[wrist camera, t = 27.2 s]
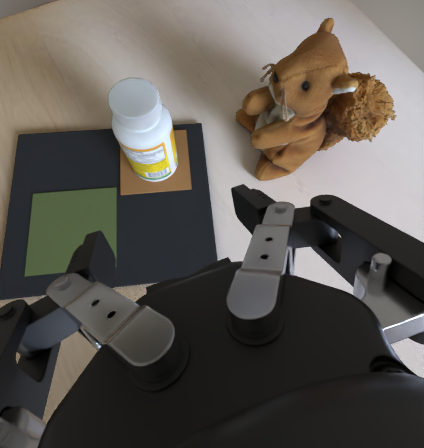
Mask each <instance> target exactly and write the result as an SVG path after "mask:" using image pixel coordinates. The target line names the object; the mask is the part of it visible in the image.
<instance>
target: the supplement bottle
mask: <svg viewBox="0 0 424 448" xmlns="http://www.w3.org/2000/svg"><path fill="white" fill-rule="evenodd" d="M108 103H109V106H110V109H111V111H112V113H113V116H112V129H113V132H114V135H115V137H116V138H117V140H118V142H119V144H120V146H121V148H122V150H123V151H124V153H125V155H126V157H127V159H128V161H129V162H130V164H131V166H132V168H133V170H134V172H135V173H136V174H137V175H138V176H139V177H140V178H142V179H144V180H146V181H151V182H158V181H162V180H165V179H167V178H168V177H170V176H171V175H172V174H173V173H174V171H175V170H176V168H177V164H178V157H177V150H176V144H175V138H174V132H173V125H172V119H171V116H170V113H169V111H168V110H167V108H166V107H165V106H164V105H163V104H162V103H161V101H160V97H159V93H158V90H157V89H156V87H155V86H154V85H153V84H152V83H151V82H149V81H147V80H145V79H141V78H127V79H124V80H121V81H119V82H118V83H116V84H115V85H114V86H113V87H112V88H111V90H110V92H109V95H108Z"/></svg>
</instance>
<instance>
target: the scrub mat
mask: <svg viewBox="0 0 424 448" xmlns="http://www.w3.org/2000/svg"><path fill="white" fill-rule="evenodd" d="M173 132H174V138H175V144H176V150H177V157H178V164H177V168H176V170H175V171H174V173H173V174H172V175H171V176H170V177H168V178H167V179H165V180H162V181H158V182H151V181H146V180H144V179H142V178H140V177H139V176H138V175H137V174H136V173H135V172H134V170H133V168H132V166H131V164H130V162H129V161H128V159H127V157H126V155H125V153H124V151H123V150H122V148H121V146H120V144H119V142H118V140H117V138H116V137H115V135H114V132H113V129H101V130H84V131H68V132H52V133H36V134H20V135H18V142H17V150H16V157H15V165H14V172H13V180H12V187H11V195H10V202H9V209H8V217H7V224H6V232H5V239H4V247H3V254H2V262H1V269H0V300H5V299H14V298H23V297H32V296H41V295H47V294H46V290H47V288H48V287H49V285H50V284H51V283H52V282H53V281H55V280H56V279H58V278H59V277H61V276H63V275H65V272H66V270H67V267H68V265H69V263H70V260H71V259H72V255H73V253H74V251H75V250H76V249H77V248H78V247H79V246H80V245H82V244H83V242H84V239H85V236H86V234H89V233H92V232H95V231H99V230H101V231H102V232H103V234H104V236H105V237H106V239H107V241H108V243H109V245H110V247H111V248H112V250H113V252H114V255H115V259H116V264H115V272H114V281H113V287H122V286H131V285H140V284H149V283H158V282H162V281H165V280H168V279H173V278H179V277H184V276H189V275H191V274H193V273H195V272H196V271H198V270H200V269H202V268H203V267H205V266H207V265H208V264H211V263H214V262H216V261H217V253H216V244H215V236H214V227H213V218H212V210H211V201H210V193H209V184H208V176H207V167H206V158H205V150H204V141H203V133H202V124H201V123H197V124H181V125H173Z"/></svg>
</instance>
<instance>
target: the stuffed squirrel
mask: <svg viewBox="0 0 424 448" xmlns="http://www.w3.org/2000/svg"><path fill="white" fill-rule="evenodd" d="M333 26H334V20H333V19H332V18H327V19H325V20H324V21H323V22H322V24H321V25H320V27H319V30H318V31H317V33H315V34H313V35H311V36H309V37H308V38H306V39H305V40H304V41H303V42H302V43H301V44H300V45H299V46H298V47H297V49H296V50H295V51H294V52H293V53H292V54H290V55H289V56H287V57H285V58H283V59H282V60H280V61H279V62H278V63H277V64H276V65H274V64H268V65H266V66H265V67H263V68H262V69H263V70H265V69H266V68H267V67H268V66H271V69H269V71H267V73H266V74H265V75H264V76H263V77H262V78H261V79H260V81H261V82H263V80H264V78H265V77H266V76H267V75H268V74H270V73H271V72H272V74H271V76H270V78H269V81H270V83H269V86H266V87H262V88H260V89H257V90H254V91H251V92H250V93H249V94H248V95H247V96H246V97H245V99H244V101H243V105H242V108H243V109H240V110H238V111H237V112H236V120H237V121H238V122H239V123H240V124H241V125H242V126H244V127H245V128H247V129H248V130H249V131H251V132H252V135H251V144H252V147H254V148H256V149H260V150H261V151H262V152H263V153H262V156H261V157H260V160H259V162H258V165H257V168H256V174H255V177H256V178H257V179H258V180H259V181H265V180H271V179H275V178H279V177H282V176H285V175H288V174H290V173H292V172H294V171H295V170H296V169H297V168H298V167H299V166H301V165H302V164H303V163H304V162H305V161H306V160H307V159H309V158H310V157H311V156H312V155H313V154H314V153H315V152H316V151H320V150H327V149H328V148H329V147H332V146H333V145H335V144H336V143H338V142H339V141H341V140H342V139H343V138H344V137H347V138H348V139H349V140H351V141H356V142H359V141H361V140H363V139H364V140H367V139H369V141H370V142H372V137H375V136H376V135H377V134H378V133H379V131H380V129H381V128H383V126H385V124H387V123H386V122H387V121H388V118H391V119H392V120H394V119H395V118H396V117H397V116H396V115H395V116H394V113H395V111H394V110H392V109H393V106H394V105H393V102H394V101H393V99H392V97H391V96H390V95H389V94H388V91H386V87H385V84H383V83H381V82H380V80H376V79H375V76H376V75H374V76H372V77H370V74H369V73H368V74H367V75H366V74H362V73H360V72H358V73H352V74H349V73H348V69H349V68H348V65H347V60H346V58H345V55H344V52H343V50H342V48H341V45H340V43H339V40H338V38H337V37H336V36H335V35H334V34H331V31H332V29H333Z"/></svg>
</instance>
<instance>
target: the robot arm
mask: <svg viewBox="0 0 424 448" xmlns="http://www.w3.org/2000/svg"><path fill="white" fill-rule="evenodd" d="M231 191H232V197H233V203H234V208H235V213H236V215H237V218H238V219H239V220H240V221H241V223H242V224H243V225H244V226H245V227H246V228H247V229H248V231H249V232H250V233H251V234H252V235H253V236H252V238H251V241H250V244H249V247H248V250H247V252H246V255H245V258H244V261H239V262H231V261H230V259H229V258H228V257H227V258H225V259H222V260H219V261H216V262H214V263H211V264H208V265H207V266H205V267H203V268H202V269H200V270H198V271H196V272H195V273H193V274H191V275H189V276H184V277H179V278H173V279H168V280H165V281H162V282H159V283H157V284H154V285H151V286H148V287H146V290H147V294H146V295H144V296H142V297H141V298H140V299H138V300H137V301H136V302H133V301H131V300H130V299H128V298H126V297H125V296H123V295H121V294H120V293H118V292H116V291H115V290H113V281H114V272H115V264H116V259H115V255H114V252H113V250H112V248H111V247H110V245H109V243H108V241H107V239H106V237H105V236H104V234H103V232H102V231H101V230H99V231H95V232H92V233H89V234H86V236H85V239H84V242H83V244H82V245H80V246H79V247H78V248H77V249H76V250H75V251H74V253H73V255H72V259H71V260H70V263H69V265H68V267H67V270H66V272H65V275H63V276H61V277H59V278H58V279H56V280H55V281H53V282H52V283H51V284H50V285H49V287H48V288H47V290H46V294H47V296H46V297H44V298H42V299H40V300H38V301H37V302H35V303H33V304H31V305H28V304H27V303H26V302H25V301H24V300H15V301H12V302H10V303H8V304H6V305H4V306H3V307H1V308H0V448H424V378H422V377H419V376H417V375H416V374H415V373H413V372H412V371H411V370H409V369H408V368H407V367H406V366H405V365H404V364H403V362H402V361H401V360H400V359H399V357H398V356H397V354H396V353H395V352H394V350H393V349H392V347H391V345H390V344H392V343H395V342H398V341H400V340H403V339H405V338H410V339H411V340H413V341H415V342H417V343H420V344H423V345H424V243H423V242H421V241H419V240H417V239H416V238H414V237H412V236H410V235H408V234H406V233H404V232H402V231H400V230H399V229H397V228H395V227H393V226H391V225H389V224H387V223H385V222H384V221H382V220H380V219H378V218H376V217H374V216H372V215H370V214H369V213H367V212H365V211H363V210H361V209H359V208H357V207H355V206H353V205H352V204H350V203H348V202H346V201H344V200H342V199H340V198H338V197H336V196H333V195H319V196H316V197H314V198H312V199H311V201H310V207H303V208H295V207H294V205H293V204H291V203H289V202H276V201H274V200H273V199H271V198H270V197H268V196H267V195H266V194H264V193H263V192H262V191H260V190H256V189H251V190H250V189H249V188H248V187H246V186H245V185H244V184H242V185H239V186H236V187H233V188H232V189H231ZM338 234H340V236H341V238H340V237H339V236H338ZM310 246H311V248H312V249H313V250H314V251H315V252H316V253H317V254H319V255H320V256H321V257H322V258H323V259H324V260H325V261H326V262H327V263H328V264H329V265H330V266H331V267H332V268H334V269H335V270H336V271H337V272H338V273H339V274H340V275H341V276H342V277H343V278H344V279H345V280H346V281H347V282H349V283H350V284H351V285H352V286H353V287H354V289H353V294H354V295H352V294H350V293H348V292H345V291H343V290H340V289H337V288H333V287H330V286H327V285H324V284H320V283H317V282H314V281H310V280H307V279H304V278H301V277H297V276H294V266H295V257H296V248H302V247H310ZM76 331H78V333H79V334H80V335H81V336H82V337H84V338H85V339H86V340H87V341H88V342H89V343H90V344H91V345H92V346H93V347H94V348H95V349H96V350H97V351H98V352H97V353H96V354H95V356H94V357H93V359H92V360H91V361H90V363H89V364H88V365H87V367H86V368H85V370H84V371H83V372H82V374H81V375H80V377H79V378H78V379H77V381H76V382H75V383H74V385H73V386H72V388H71V389H70V390H69V392H68V393H67V395H66V396H65V397H64V399H63V400H62V401H61V403H60V404H59V406H58V407H57V408H56V410H55V411H54V413H53V414H52V416H51V417H50V419H49V421H48V423H47V424H46V423H45V422H44V421H43V420H42V419H43V415H44V410H45V406H46V402H47V398H48V394H49V390H50V386H51V381H52V377H53V373H54V369H55V365H56V361H57V357H58V352H59V348H60V344H61V341H62V340H63V339H65V338H67V337H68V336H70V335H71V334H73V333H74V332H76ZM16 352H18V353H19V354H20V355H21V356H20V359H19V361H18V364H17V363H16Z"/></svg>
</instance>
